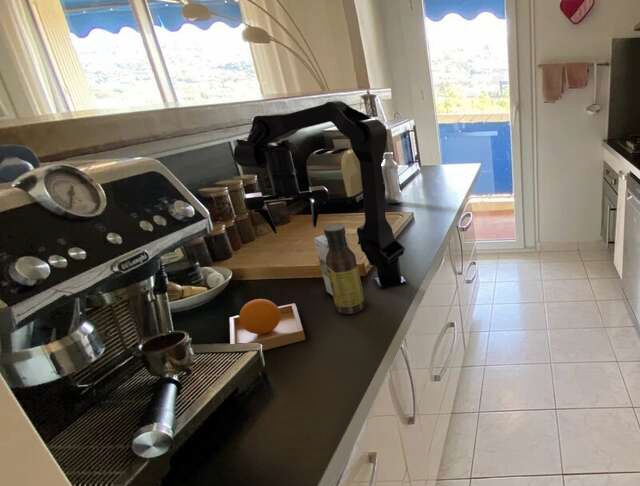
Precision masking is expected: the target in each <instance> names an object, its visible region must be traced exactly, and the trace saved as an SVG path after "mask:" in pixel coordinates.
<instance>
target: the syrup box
mask: <svg viewBox="0 0 640 486" xmlns="http://www.w3.org/2000/svg"><path fill="white" fill-rule="evenodd" d="M313 240H314V244H315V249H316V252H317V253H316V254H317V256H318V261H319V265H320V270H321V273H322V278H323V282H324V286H325V291H326V293H327V294H329V295H330V296H332V297H333V292H332V288H331V284H330V279H329V275H328V271H327V266H326V255H327V253H328V251H329V247H328V241H327V237H326V235H325V234H322V235H319V236H317V237H314V238H313ZM346 242H347V246H348V248H349V249H350V245H349V240H348V237H346Z"/></svg>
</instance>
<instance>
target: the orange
mask: <svg viewBox="0 0 640 486" xmlns="http://www.w3.org/2000/svg"><path fill="white" fill-rule="evenodd" d="M278 307H279V306H278V305H277V304H275V303H274V302H273V301H271V300H269V299H266V298H257V299H255V298H254V299H253V300H250V301H248V302H246V303H245V304H244V305H243V306H242V307H241V309H240V311H239V315H238V316H239V320H240V323H241V325H242V327H243V328H244V329H245V330H247V331H248V332H250V333H253V334H266V333H268V332H271V331H272V330H274V329H275V328H276V327H277V325H278V324H279V322H280V318H281V314H280V310H279V308H278Z"/></svg>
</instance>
